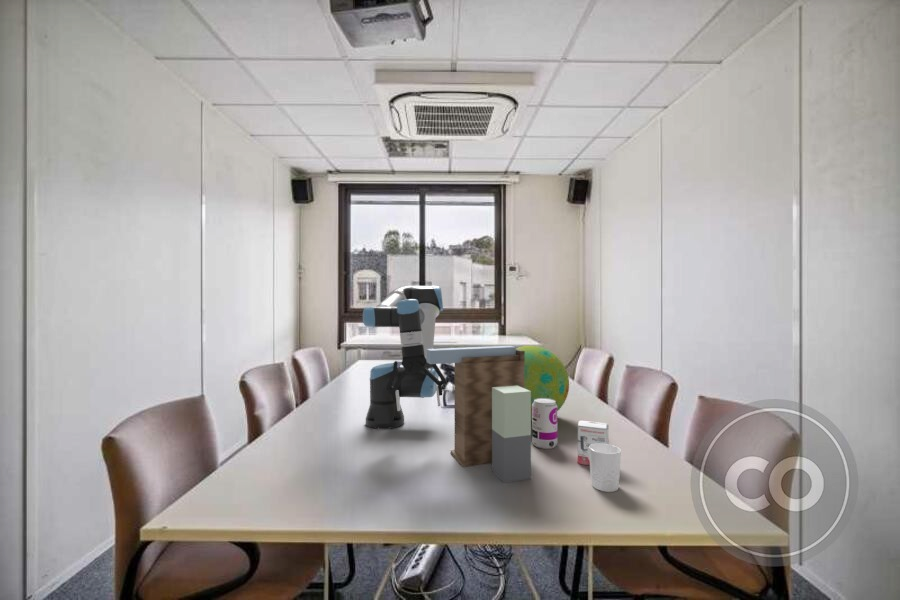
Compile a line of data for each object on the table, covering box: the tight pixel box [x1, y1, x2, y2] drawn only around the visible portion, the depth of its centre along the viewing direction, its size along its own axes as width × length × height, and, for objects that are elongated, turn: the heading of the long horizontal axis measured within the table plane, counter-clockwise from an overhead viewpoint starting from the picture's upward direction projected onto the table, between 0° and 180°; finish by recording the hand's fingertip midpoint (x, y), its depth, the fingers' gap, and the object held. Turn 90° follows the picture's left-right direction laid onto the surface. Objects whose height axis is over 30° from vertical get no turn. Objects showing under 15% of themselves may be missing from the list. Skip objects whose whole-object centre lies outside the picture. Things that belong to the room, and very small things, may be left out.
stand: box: [450, 349, 525, 467], centre depth 130 cm, size 22×11×33 cm, turn 108°
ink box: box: [577, 420, 609, 466], centre depth 124 cm, size 9×5×12 cm, turn 68°
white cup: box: [589, 443, 622, 493], centre depth 109 cm, size 8×8×10 cm
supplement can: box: [531, 398, 558, 450], centre depth 139 cm, size 8×8×15 cm
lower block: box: [491, 430, 532, 484], centre depth 116 cm, size 8×8×12 cm
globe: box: [516, 345, 570, 422], centre depth 170 cm, size 30×30×30 cm
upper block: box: [492, 385, 532, 438], centre depth 116 cm, size 8×8×12 cm
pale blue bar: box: [427, 345, 517, 365], centre depth 128 cm, size 28×4×4 cm, turn 108°
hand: (419, 408), depth 140 cm, fingers open, 13 cm apart
